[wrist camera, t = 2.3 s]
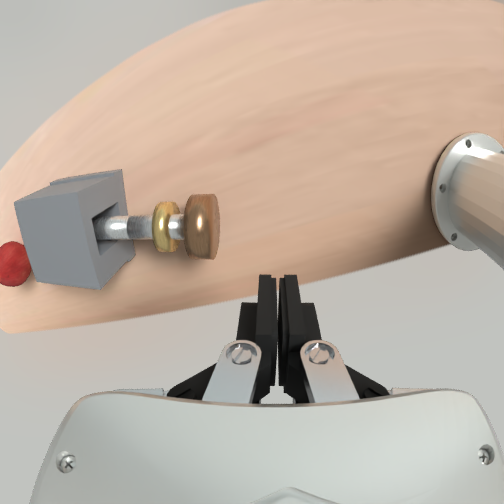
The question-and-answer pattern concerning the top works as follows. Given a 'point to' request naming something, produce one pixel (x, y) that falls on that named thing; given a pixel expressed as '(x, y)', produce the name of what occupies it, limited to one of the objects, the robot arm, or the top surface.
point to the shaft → (170, 226)
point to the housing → (74, 230)
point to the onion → (14, 264)
